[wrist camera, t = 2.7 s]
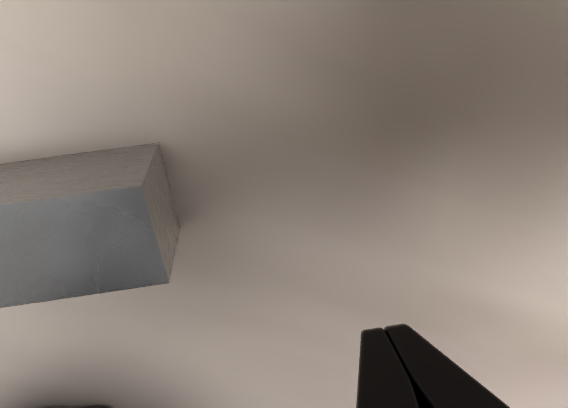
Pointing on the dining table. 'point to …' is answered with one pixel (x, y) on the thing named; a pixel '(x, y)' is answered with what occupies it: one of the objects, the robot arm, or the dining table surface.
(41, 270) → the long grey bar
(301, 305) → the dining table surface
